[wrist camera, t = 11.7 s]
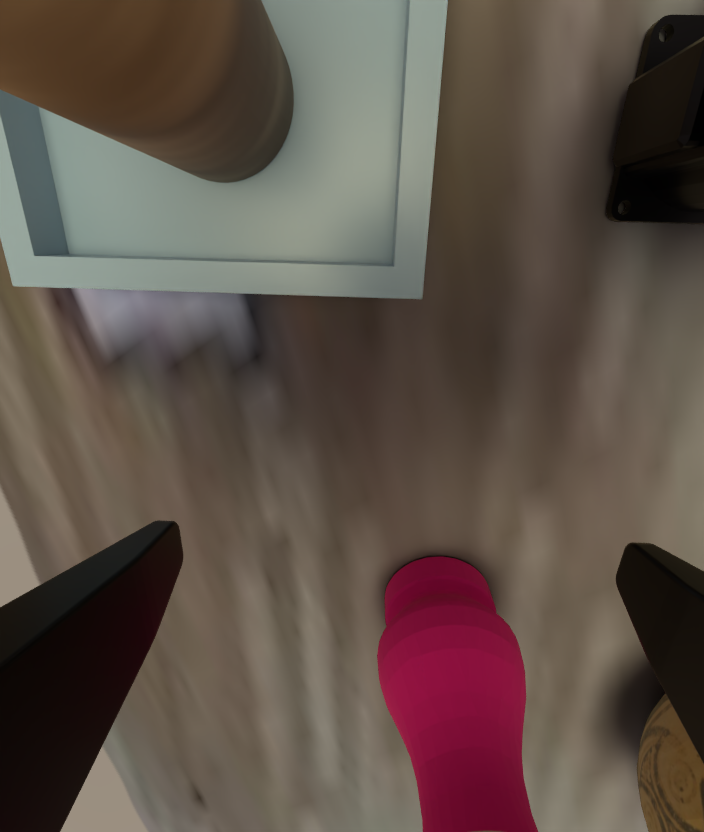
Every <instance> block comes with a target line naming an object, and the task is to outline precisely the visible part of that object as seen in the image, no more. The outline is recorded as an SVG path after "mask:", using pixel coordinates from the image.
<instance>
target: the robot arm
mask: <svg viewBox="0 0 704 832" xmlns="http://www.w3.org/2000/svg"><path fill="white" fill-rule="evenodd" d="M660 29H663V30H665V31H666V33H667V39H666V41H665V42H662V41H660V39H659V32H660ZM613 162H614V164H615V166H616V169H615V173H614V177H613V182H612V186H611V191H610V195H609V199H608V204H607V210H606V213H607V216H608V218H609V219H610V220H612V221H616V222H651V223H688V224H704V15H668V16H664V17H663V18H661V19H660V20H659V21H657V22H656V23H655V24H653V25H652V26H651V28H650V29H649V30H648V32H647V34H646V37H645V41H644V45H643V49H642V54H641V58H640V63H639V67H638V72H637V76H636V79H635V80H634V81H633V82H632V83H631V84H630V86H629V88H628V93H627V97H626V102H625V106H624V111H623V115H622V120H621V124H620V129H619V133H618V138H617V142H616V147H615V151H614V156H613ZM621 202H624V203H625V205H626V208H625V210H624V212H623V213H622V214H620V213H619V212H618V206H619V204H620V203H621ZM182 562H183V549H182V543H181V536H180V530H179V526H178V524H177V523H176V522H175V521H154V522H152V523H151V524H149V525H147V526H145V527H143V528H142V529H140V530H138V531H136V532H135V533H133V534H131V535H129V536H127V537H126V538H124V539H122V540H120V541H118V542H117V543H115V544H113V545H111V546H109V547H108V548H106V549H104V550H102V551H100V552H99V553H97V554H95V555H93V556H92V557H90V558H88V559H86V560H84V561H83V562H81V563H79V564H77V565H75V566H74V567H72V568H70V569H68V570H66V571H65V572H63V573H61V574H59V575H57V576H56V577H54V578H52V579H50V580H48V581H47V582H45V583H43V584H41V585H39V586H38V587H36V588H34V589H33V590H30V591H29V592H27V593H25V594H23V595H22V596H20V597H18V598H16V599H14V600H13V601H11V602H9V603H8V604H5V605H4V606H2V607H0V832H60V831H61V829H62V827H63V825H64V823H65V821H66V819H67V817H68V815H69V813H70V811H71V808H72V806H73V804H74V802H75V800H76V798H77V796H78V794H79V792H80V790H81V788H82V786H83V784H84V782H85V780H86V778H87V776H88V774H89V772H90V770H91V768H92V766H93V764H94V762H95V759H96V757H97V755H98V753H99V751H100V749H101V747H102V745H103V743H104V741H105V739H106V737H107V735H108V733H109V731H110V729H111V727H112V725H113V723H114V721H115V719H116V717H117V715H118V713H119V711H120V709H121V706H122V704H123V702H124V700H125V698H126V696H127V694H128V692H129V690H130V688H131V686H132V684H133V682H134V680H135V678H136V676H137V674H138V672H139V670H140V668H141V666H142V664H143V662H144V660H145V658H146V655H147V653H148V651H149V649H150V647H151V645H152V643H153V641H154V639H155V636H156V634H157V631H158V629H159V626H160V624H161V621H162V618H163V615H164V613H165V610H166V607H167V605H168V602H169V599H170V596H171V594H172V591H173V588H174V585H175V583H176V580H177V577H178V575H179V572H180V569H181V566H182ZM616 584H617V588H618V590H619V593H620V595H621V597H622V600H623V602H624V605H625V607H626V609H627V612H628V614H629V616H630V619H631V621H632V623H633V626H634V628H635V630H636V633H637V635H638V638H639V640H640V642H641V645H642V647H643V649H644V652H645V654H646V656H647V658H648V660H649V663H650V665H651V667H652V669H653V671H654V673H655V674H656V676H657V678H658V680H659V682H660V684H661V686H662V688H663V689H664V691H665V693H666V695H667V697H668V699H669V701H670V702H671V704H672V706H673V708H674V710H675V712H676V714H677V715H678V717H679V719H680V721H681V723H682V725H683V727H684V728H685V730H686V732H687V734H688V736H689V738H690V740H691V741H692V743H693V745H694V747H695V749H696V751H697V753H698V754H699V756H700V758H701V760H702V762H703V764H704V571H702V570H700V569H698V568H696V567H695V566H693V565H691V564H689V563H687V562H685V561H683V560H682V559H680V558H678V557H676V556H674V555H672V554H671V553H669V552H667V551H665V550H663V549H661V548H659V547H658V546H656V545H654V544H650V543H629V544H628V545H627V546H626V547H625V549H624V552H623V555H622V558H621V562H620V565H619V568H618V571H617V574H616Z"/></svg>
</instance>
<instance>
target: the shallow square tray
mask: <svg viewBox="0 0 704 832" xmlns="http://www.w3.org/2000/svg"><path fill="white" fill-rule="evenodd" d="M261 1H262V3H263V5H264V8H265V10H266V12H267V14H268V17H269V19H270V21H271V24H272V26H273V28H274V31H275V33H276V35H277V38H278V40H279V42H280V44H281V47H282V49H283V51H284V54H285V56H286V59H287V62H288V65H289V68H290V72H291V77H292V83H293V91H294V106H293V116H292V120H291V125H290V129H289V131H288V134H287V137H286V139H285V142H284V144H283V146H282V148H281V149H280V151H279V152H278V154H277V155H276V157H275V158H274V159H273V160H272V161H271V162H270V164H268V165H267V166H266V167H265V168H264V169H263V170H261V171H260V172H258V173H257V174H255V175H253V176H251V177H249V178H247V179H244V180H240V181H237V182H229V183H221V182H213V181H208V180H205V179H202V178H199V177H196V176H194V175H192V174H190V173H187V172H185V171H183V170H181V169H178V168H176V167H174V166H172V165H169V164H167V163H165V162H163V161H160V160H158V159H156V158H154V157H151V156H149V155H147V154H145V153H142V152H140V151H138V150H136V149H133V148H131V147H129V146H126V145H124V144H122V143H120V142H117V141H115V140H113V139H111V138H108V137H106V136H104V135H102V134H99V133H97V132H95V131H93V130H90V129H88V128H86V127H84V126H81V125H79V124H77V123H75V122H72V121H70V120H68V119H66V118H63V117H61V116H59V115H57V114H54V113H52V112H50V111H47V110H45V109H43V108H41V107H38V106H36V105H34V104H32V103H29V102H27V101H25V100H23V99H20V98H18V97H16V96H14V95H11V94H9V93H7V92H5V91H2V90H0V238H1V242H2V246H3V249H4V253H5V257H6V261H7V265H8V268H9V272H10V276H11V280H12V284H13V286H25V287H56V288H87V289H118V290H150V291H181V292H212V293H244V294H275V295H306V296H337V297H369V298H400V299H422V296H423V285H424V273H425V262H426V250H427V238H428V227H429V215H430V203H431V192H432V180H433V168H434V157H435V145H436V133H437V122H438V110H439V98H440V87H441V75H442V63H443V52H444V40H445V28H446V17H447V5H448V0H261Z"/></svg>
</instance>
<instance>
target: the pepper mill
mask: <svg viewBox="0 0 704 832" xmlns="http://www.w3.org/2000/svg"><path fill="white" fill-rule="evenodd" d="M385 620H386V625H387V627H386V628H385V630H384V632H383V634H382V636H381V639H380V641H379V647H378V654H377V659H378V671H379V680H380V685H381V689H382V692H383V695H384V699H385V702H386V705H387V708H388V710H389V712H390V714H391V716H392V718H393V720H394V722H395V724H396V726H397V728H398V730H399V732H400V734H401V737H402V739H403V741H404V743H405V745H406V748H407V750H408V752H409V755H410V757H411V761H412V765H413V769H414V772H415V776H416V780H417V786H418V792H419V799H420V806H421V813H422V820H423V832H538V830H537V827H536V825H535V822H534V819H533V816H532V813H531V809H530V805H529V800H528V796H527V792H526V787H525V783H524V778H523V766H522V734H523V723H524V713H525V703H526V684H525V670H524V664H523V660H522V656H521V652H520V648H519V645H518V642H517V639H516V637H515V635H514V633H513V632H512V630H511V628H510V627H509V625H508V624H507V623H506V622H505V621H504V620H503V619H502V618H501V617H500V616H499V615H498V614H496V608H495V605H494V602H493V599H492V596H491V593H490V590H489V587H488V584H487V582H486V580H485V579H484V577H483V576H482V575H481V573H480V572H479V571H478V570H476V569H475V568H474V567H473V566H471V565H470V564H467V563H465V562H463V561H461V560H458V559H455V558H449V557H443V556H440V557H426V558H423V559H420V560H417V561H413V562H411V563H409V564H408V565H406V566H404V567H403V568H401V569H400V570H399V571H398V572H397V573H396V574H394V576H393V577H392V579H391V580H390V582H389V583H388V585H387V588H386V592H385Z"/></svg>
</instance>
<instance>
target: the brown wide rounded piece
mask: <svg viewBox="0 0 704 832" xmlns="http://www.w3.org/2000/svg"><path fill="white" fill-rule="evenodd" d="M637 775H638V786H639V793H640V800H641V807H642V810H643V813H644V817H645V820H646V824H647V827H648V831H649V832H704V764H703V762H702V760H701V758H700V756H699V754H698V753H697V751H696V749H695V747H694V745H693V743H692V741H691V740H690V738H689V736H688V734H687V732H686V730H685V728H684V727H683V725H682V723H681V721H680V719H679V717H678V715H677V714H676V712H675V710H674V708H673V706H672V704H671V702H670V701H669V699H668V697H667V695H666V693H665V694H664V696H663V697H662V698H661V699H660V701H659V702H658V703H657V705H656V706H655V707H654V709H653V710H652V712H651V713H650V715H649V717H648V719H647V721H646V724H645V728H644V731H643V734H642V737H641V741H640V748H639V755H638V763H637Z"/></svg>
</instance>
